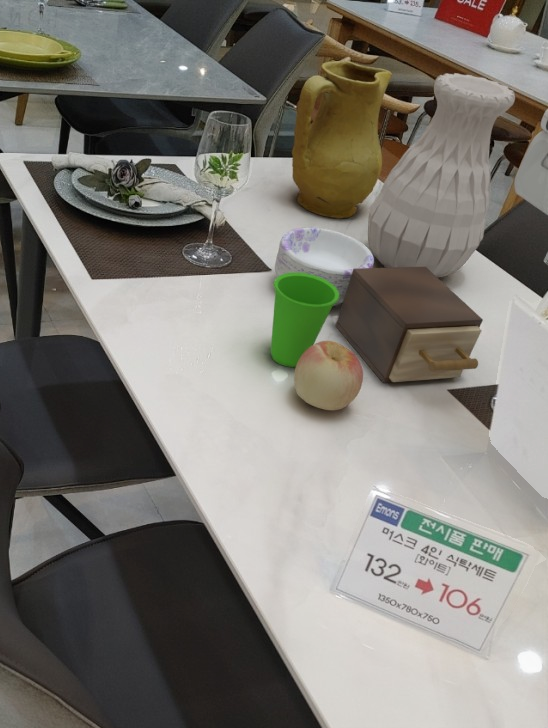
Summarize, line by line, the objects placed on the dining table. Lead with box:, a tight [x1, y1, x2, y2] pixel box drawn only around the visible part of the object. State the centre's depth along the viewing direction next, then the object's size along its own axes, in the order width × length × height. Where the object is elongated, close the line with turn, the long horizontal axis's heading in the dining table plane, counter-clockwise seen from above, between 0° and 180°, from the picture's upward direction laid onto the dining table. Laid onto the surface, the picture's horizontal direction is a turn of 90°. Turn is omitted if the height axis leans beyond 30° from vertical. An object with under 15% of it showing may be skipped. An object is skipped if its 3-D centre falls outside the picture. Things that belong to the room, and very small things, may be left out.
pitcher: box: [291, 60, 393, 220], centre depth 147 cm, size 17×19×25 cm
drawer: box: [389, 325, 482, 383], centre depth 111 cm, size 19×11×8 cm, turn 17°
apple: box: [293, 340, 364, 411], centre depth 101 cm, size 9×9×8 cm
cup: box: [270, 273, 339, 368], centre depth 108 cm, size 9×9×11 cm
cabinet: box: [335, 267, 484, 384], centre depth 113 cm, size 16×13×10 cm
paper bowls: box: [274, 226, 375, 307], centre depth 124 cm, size 15×15×8 cm
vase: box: [367, 72, 516, 279], centre depth 129 cm, size 20×20×30 cm
